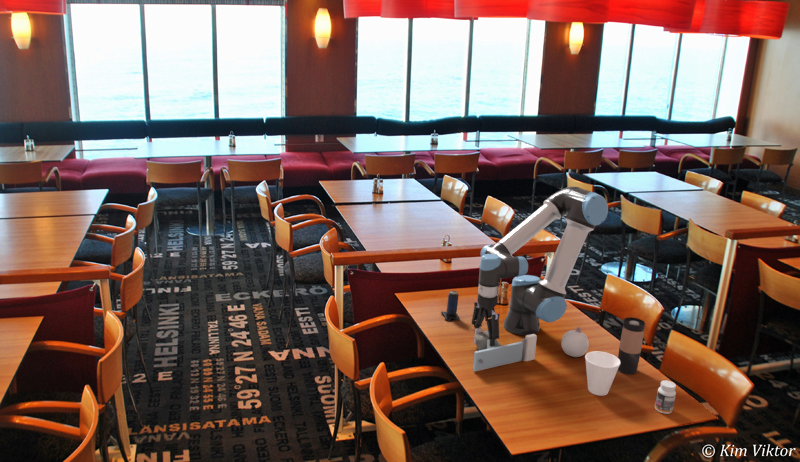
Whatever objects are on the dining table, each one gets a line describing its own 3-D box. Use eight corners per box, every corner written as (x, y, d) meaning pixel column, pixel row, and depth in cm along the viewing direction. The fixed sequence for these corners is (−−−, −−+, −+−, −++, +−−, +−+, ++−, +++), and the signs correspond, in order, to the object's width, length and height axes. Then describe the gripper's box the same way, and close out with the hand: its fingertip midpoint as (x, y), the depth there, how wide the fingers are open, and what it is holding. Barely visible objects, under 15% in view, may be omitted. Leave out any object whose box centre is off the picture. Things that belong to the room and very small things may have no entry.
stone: (506, 352, 243) (496, 332, 240) (485, 363, 243) (475, 342, 240) (499, 342, 251) (489, 322, 248) (479, 352, 251) (469, 332, 248)
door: (522, 358, 241) (524, 338, 239) (526, 361, 239) (528, 341, 236) (472, 369, 231) (474, 348, 228) (476, 372, 229) (478, 351, 226)
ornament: (588, 352, 249) (592, 325, 245) (584, 363, 240) (588, 335, 236) (562, 346, 253) (566, 319, 249) (557, 357, 244) (561, 329, 240)
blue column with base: (462, 319, 274) (464, 294, 270) (446, 322, 271) (448, 296, 267) (453, 311, 282) (455, 286, 278) (437, 313, 279) (439, 288, 275)
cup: (610, 403, 214) (615, 371, 210) (576, 392, 220) (580, 360, 216) (619, 388, 223) (624, 357, 220) (586, 378, 229) (590, 347, 226)
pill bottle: (651, 405, 214) (656, 379, 211) (667, 405, 214) (672, 379, 211) (659, 414, 208) (664, 388, 206) (675, 414, 209) (680, 388, 206)
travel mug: (637, 367, 239) (645, 319, 233) (637, 376, 232) (645, 327, 226) (616, 363, 241) (623, 315, 236) (615, 372, 234) (623, 323, 229)
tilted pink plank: (531, 357, 243) (534, 333, 240) (534, 359, 242) (537, 335, 239) (523, 359, 241) (525, 335, 238) (525, 361, 240) (528, 337, 237)
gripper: (464, 286, 246) (461, 338, 253) (495, 306, 228) (490, 362, 235) (480, 283, 249) (476, 335, 256) (512, 302, 232) (507, 358, 238)
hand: (483, 347), depth 246 cm, fingers closed on stone, 8 cm apart
